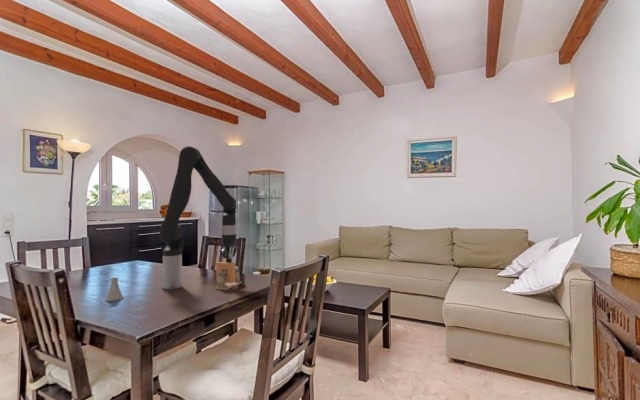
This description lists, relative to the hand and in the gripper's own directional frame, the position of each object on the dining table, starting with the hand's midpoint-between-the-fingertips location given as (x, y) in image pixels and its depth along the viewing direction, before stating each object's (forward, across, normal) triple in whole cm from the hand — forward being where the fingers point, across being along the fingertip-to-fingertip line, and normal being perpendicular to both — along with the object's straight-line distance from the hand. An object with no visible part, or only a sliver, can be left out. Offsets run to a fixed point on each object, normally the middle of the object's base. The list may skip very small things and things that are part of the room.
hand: (229, 265), depth 177 cm
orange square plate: (+8, +3, 0) cm, 8 cm away
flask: (+11, +38, -36) cm, 54 cm away
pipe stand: (+11, 0, 0) cm, 11 cm away
